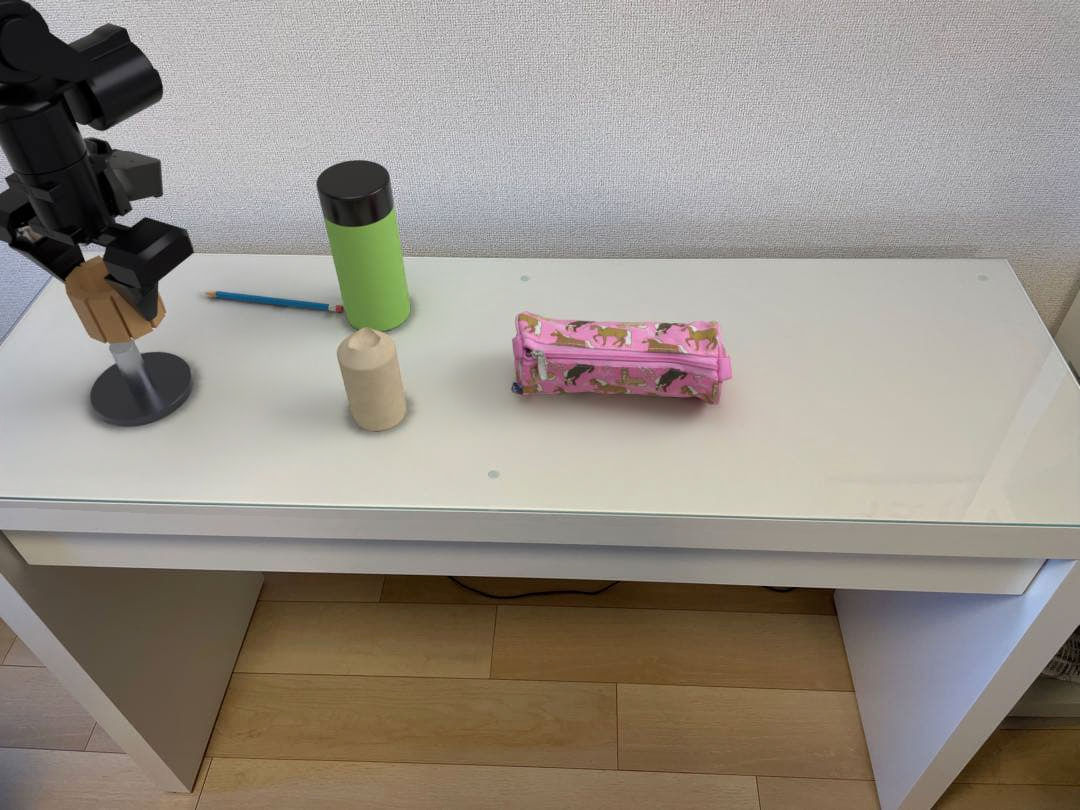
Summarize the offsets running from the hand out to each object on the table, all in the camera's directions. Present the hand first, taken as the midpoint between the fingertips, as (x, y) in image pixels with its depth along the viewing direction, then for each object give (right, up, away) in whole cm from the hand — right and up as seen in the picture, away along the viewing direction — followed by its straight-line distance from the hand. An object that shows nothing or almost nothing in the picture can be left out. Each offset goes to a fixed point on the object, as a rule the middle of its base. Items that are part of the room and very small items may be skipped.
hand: (121, 307), depth 79 cm
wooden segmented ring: (0, -1, +1) cm, 1 cm away
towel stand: (-2, -8, +10) cm, 13 cm away
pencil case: (+47, -8, +9) cm, 48 cm away
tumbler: (+20, +1, +18) cm, 28 cm away
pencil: (+8, +3, +19) cm, 21 cm away
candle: (+23, -10, +7) cm, 26 cm away
